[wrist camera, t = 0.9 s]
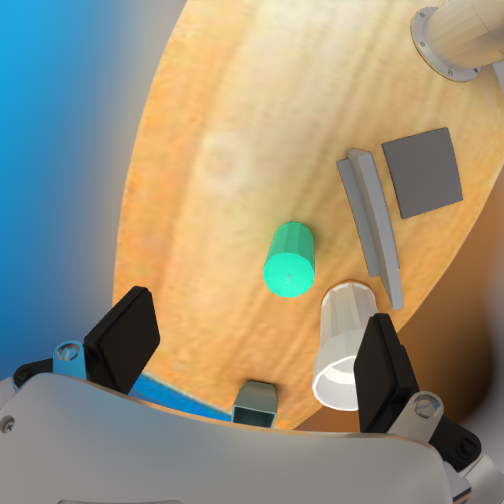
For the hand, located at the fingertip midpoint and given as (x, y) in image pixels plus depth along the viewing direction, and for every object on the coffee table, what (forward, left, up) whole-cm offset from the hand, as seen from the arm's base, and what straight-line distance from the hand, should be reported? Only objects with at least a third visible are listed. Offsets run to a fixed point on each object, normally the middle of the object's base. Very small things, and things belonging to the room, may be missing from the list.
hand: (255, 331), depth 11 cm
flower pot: (+21, +39, -30) cm, 53 cm away
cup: (-2, +21, -30) cm, 36 cm away
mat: (-19, +4, -29) cm, 35 cm away
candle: (+3, +8, -30) cm, 31 cm away
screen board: (-9, +8, -29) cm, 32 cm away
